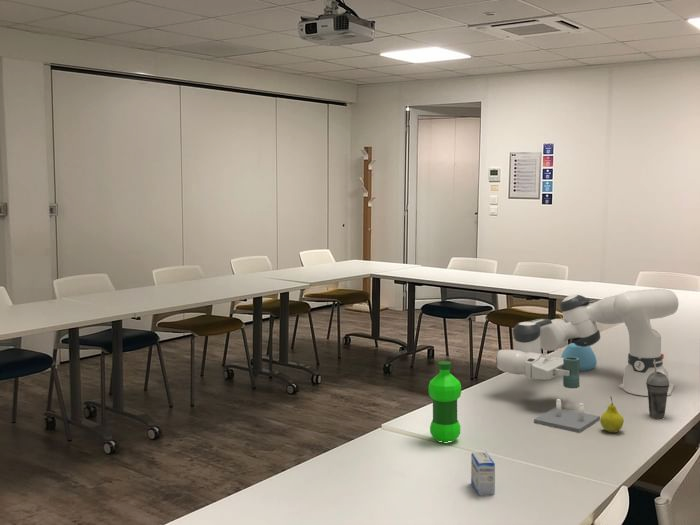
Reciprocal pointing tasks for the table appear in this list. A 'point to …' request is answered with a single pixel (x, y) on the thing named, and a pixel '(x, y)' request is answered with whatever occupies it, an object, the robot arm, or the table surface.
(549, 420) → the pin board
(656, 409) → the beverage cup
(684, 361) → the table surface
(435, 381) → the plastic bottle
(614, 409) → the fruit
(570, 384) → the sleeve
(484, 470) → the medicine box
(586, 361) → the sugar bowl
